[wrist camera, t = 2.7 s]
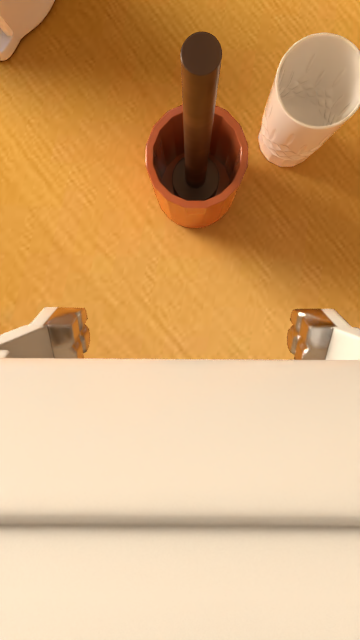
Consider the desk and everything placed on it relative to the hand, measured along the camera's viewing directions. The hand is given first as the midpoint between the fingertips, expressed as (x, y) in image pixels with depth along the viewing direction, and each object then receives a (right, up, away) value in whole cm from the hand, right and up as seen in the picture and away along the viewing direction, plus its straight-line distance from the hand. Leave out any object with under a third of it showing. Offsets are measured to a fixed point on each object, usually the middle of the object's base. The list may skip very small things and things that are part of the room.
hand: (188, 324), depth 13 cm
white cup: (+12, +22, +25) cm, 35 cm away
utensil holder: (+1, +16, +25) cm, 30 cm away
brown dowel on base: (+1, +16, +25) cm, 30 cm away
